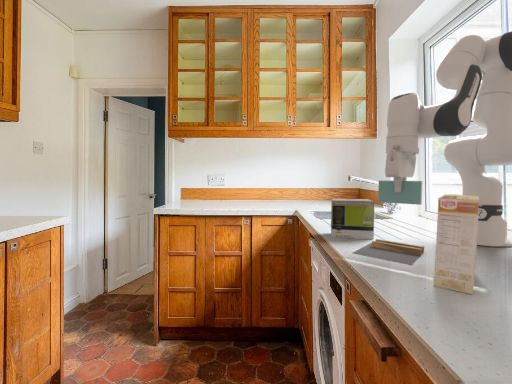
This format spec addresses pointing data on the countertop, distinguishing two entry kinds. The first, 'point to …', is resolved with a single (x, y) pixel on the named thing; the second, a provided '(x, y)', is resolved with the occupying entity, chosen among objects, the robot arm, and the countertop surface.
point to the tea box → (352, 218)
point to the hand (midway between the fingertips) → (399, 192)
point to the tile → (407, 196)
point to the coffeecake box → (456, 242)
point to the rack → (398, 247)
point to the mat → (387, 254)
